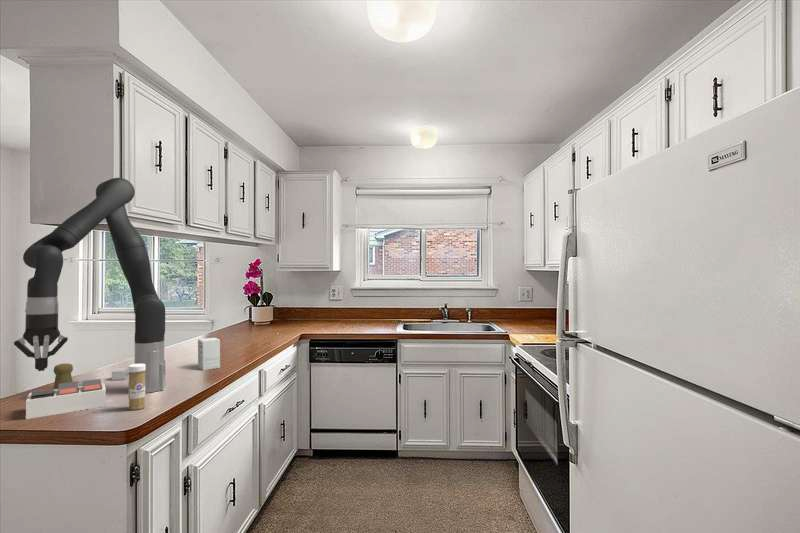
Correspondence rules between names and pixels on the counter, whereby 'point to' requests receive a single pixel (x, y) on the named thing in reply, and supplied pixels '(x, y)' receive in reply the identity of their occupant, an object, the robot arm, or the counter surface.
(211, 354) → the supplement box
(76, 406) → the white switch panel
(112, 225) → the robot arm
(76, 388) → the switch middle
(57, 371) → the cork
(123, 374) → the usb wall charger
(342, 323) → the counter surface
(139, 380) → the sprinkles bottle
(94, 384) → the switch
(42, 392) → the switch
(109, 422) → the counter surface
